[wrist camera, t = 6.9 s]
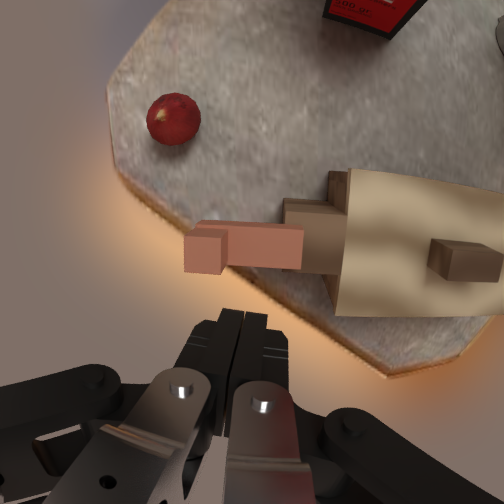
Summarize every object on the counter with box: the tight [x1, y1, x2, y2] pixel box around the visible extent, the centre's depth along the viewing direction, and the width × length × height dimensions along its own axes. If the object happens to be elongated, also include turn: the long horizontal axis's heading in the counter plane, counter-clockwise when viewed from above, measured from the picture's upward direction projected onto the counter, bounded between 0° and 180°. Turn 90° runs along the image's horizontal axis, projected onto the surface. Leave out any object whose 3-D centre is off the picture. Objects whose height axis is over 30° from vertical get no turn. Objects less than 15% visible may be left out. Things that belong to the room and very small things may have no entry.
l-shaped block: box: [184, 220, 304, 275], centre depth 23 cm, size 3×8×5 cm, turn 88°
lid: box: [333, 168, 504, 317], centre depth 23 cm, size 13×22×6 cm, turn 88°
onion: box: [146, 93, 201, 146], centre depth 30 cm, size 6×6×8 cm
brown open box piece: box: [282, 171, 348, 307], centre depth 30 cm, size 12×27×11 cm, turn 88°
